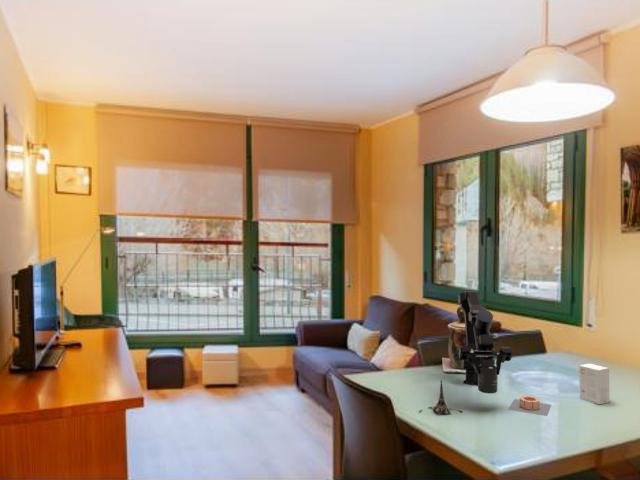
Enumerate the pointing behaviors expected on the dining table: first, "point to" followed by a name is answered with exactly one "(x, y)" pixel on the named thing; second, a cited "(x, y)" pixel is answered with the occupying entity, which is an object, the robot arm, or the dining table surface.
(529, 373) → the dining table surface
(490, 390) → the supplement bottle
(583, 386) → the small box
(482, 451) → the dining table surface
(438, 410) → the eiffel tower figurine
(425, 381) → the dining table surface
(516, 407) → the slate mat
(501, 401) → the dining table surface
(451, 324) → the cookie jar
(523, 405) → the terracotta bowl
